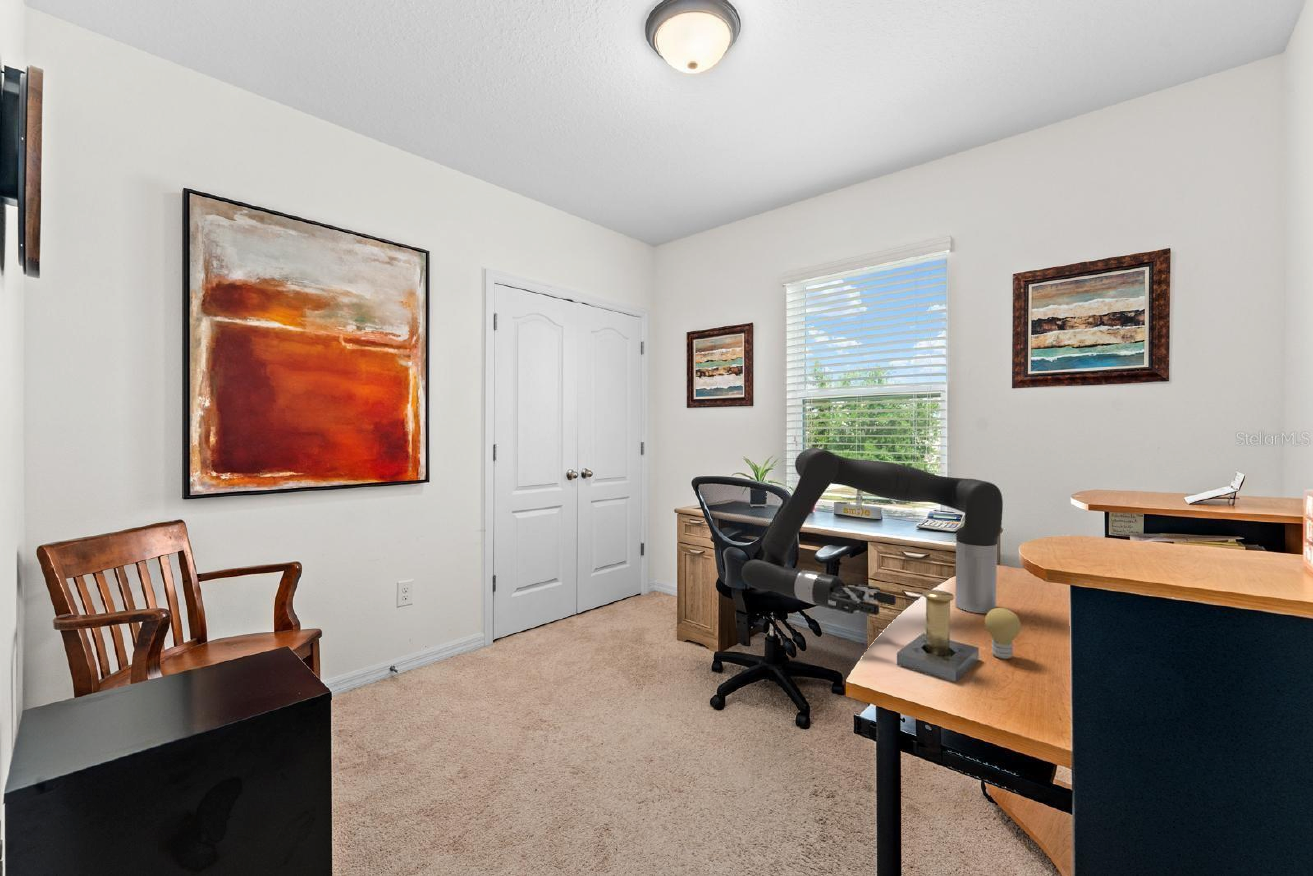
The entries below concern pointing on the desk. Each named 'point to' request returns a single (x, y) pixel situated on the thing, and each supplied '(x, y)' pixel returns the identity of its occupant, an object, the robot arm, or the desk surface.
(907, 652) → the jig
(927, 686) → the desk surface
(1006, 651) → the light bulb
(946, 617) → the rivet
